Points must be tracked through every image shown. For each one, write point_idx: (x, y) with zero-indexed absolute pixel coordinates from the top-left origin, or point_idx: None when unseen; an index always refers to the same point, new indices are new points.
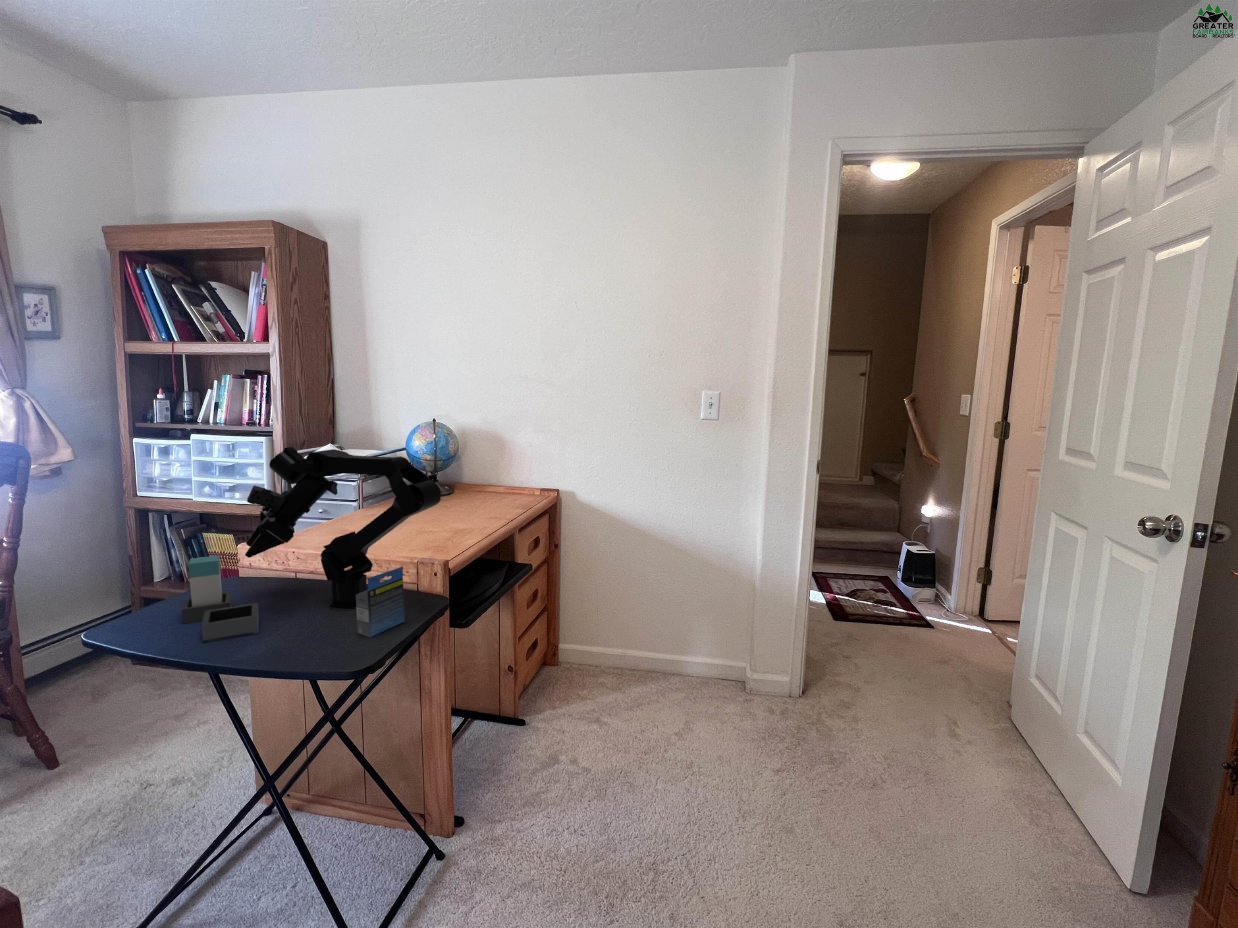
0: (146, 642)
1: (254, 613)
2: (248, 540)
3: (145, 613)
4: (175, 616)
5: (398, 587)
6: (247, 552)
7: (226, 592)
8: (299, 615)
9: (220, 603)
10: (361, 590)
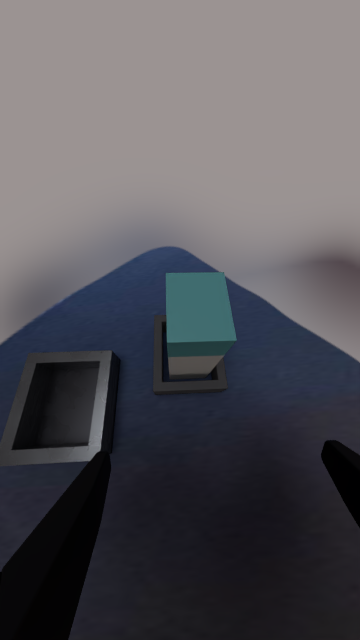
0: (106, 294)
1: (22, 456)
2: (344, 457)
3: None
4: None
5: None
6: (84, 470)
7: (225, 379)
8: None
9: (157, 373)
10: None
